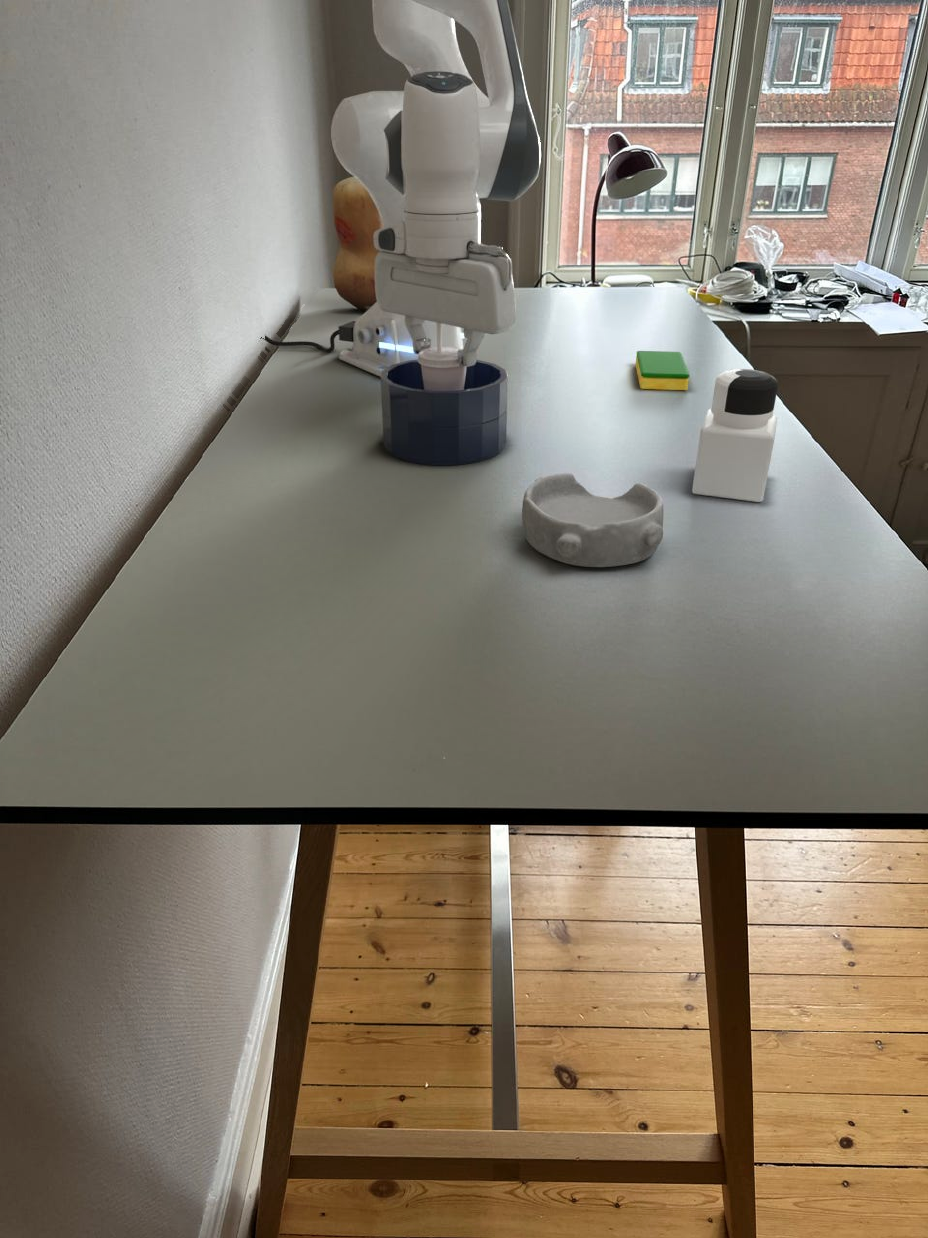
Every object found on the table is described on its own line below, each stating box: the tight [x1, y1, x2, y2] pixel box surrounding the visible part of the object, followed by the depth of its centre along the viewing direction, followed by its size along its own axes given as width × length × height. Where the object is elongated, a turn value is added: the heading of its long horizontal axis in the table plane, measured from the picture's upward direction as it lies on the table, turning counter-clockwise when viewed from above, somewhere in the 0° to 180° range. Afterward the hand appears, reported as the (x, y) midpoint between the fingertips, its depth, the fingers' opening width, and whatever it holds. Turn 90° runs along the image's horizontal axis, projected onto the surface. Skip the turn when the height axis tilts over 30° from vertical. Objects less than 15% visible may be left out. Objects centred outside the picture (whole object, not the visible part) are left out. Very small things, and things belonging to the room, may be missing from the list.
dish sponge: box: [635, 350, 690, 391], centre depth 140 cm, size 7×14×2 cm, turn 174°
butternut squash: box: [332, 176, 382, 311], centre depth 177 cm, size 14×13×25 cm
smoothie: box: [418, 322, 467, 391], centre depth 110 cm, size 6×6×14 cm
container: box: [691, 368, 779, 503], centre depth 99 cm, size 8×8×13 cm
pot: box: [380, 358, 509, 466], centre depth 112 cm, size 16×16×9 cm
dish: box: [521, 472, 665, 568], centre depth 88 cm, size 14×14×5 cm
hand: (443, 359), depth 109 cm, fingers closed on smoothie, 6 cm apart
